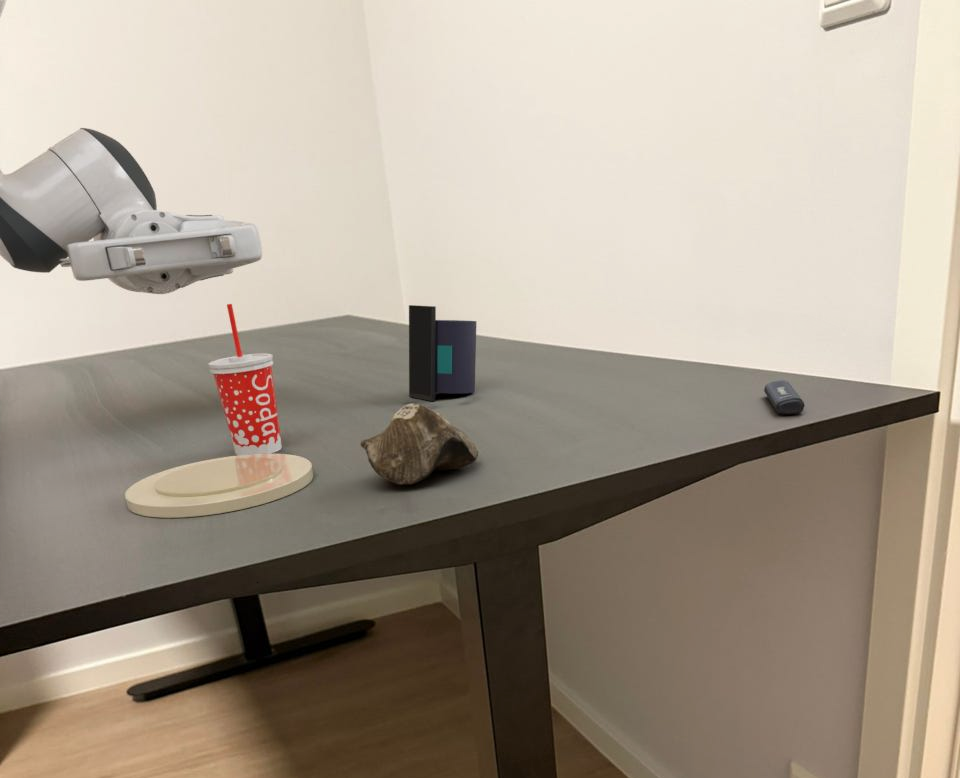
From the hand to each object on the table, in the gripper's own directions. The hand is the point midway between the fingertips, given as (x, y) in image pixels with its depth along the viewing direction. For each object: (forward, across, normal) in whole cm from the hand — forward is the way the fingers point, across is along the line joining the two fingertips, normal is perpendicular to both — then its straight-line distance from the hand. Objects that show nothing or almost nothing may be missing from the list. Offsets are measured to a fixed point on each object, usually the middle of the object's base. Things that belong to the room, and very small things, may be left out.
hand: (183, 251), depth 97 cm
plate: (+24, -7, +19) cm, 31 cm away
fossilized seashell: (+35, +7, +19) cm, 40 cm away
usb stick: (+41, +43, +19) cm, 62 cm away
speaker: (+4, +26, +19) cm, 33 cm away
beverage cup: (+12, 0, +19) cm, 23 cm away
